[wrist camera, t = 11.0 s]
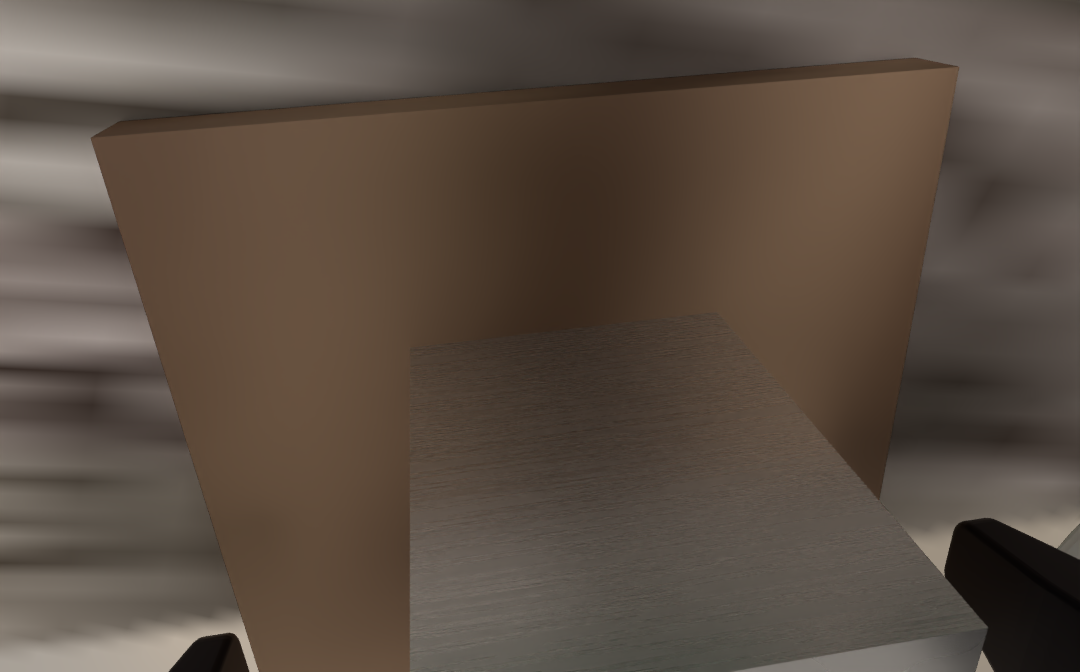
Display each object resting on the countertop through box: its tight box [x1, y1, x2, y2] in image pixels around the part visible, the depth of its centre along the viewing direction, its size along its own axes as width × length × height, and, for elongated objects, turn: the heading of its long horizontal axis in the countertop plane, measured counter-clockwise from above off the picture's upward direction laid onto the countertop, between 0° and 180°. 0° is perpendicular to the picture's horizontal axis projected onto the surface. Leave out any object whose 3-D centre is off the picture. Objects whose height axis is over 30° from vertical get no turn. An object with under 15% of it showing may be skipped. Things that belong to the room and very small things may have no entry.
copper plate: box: [91, 58, 959, 672], centre depth 13 cm, size 11×11×1 cm
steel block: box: [410, 312, 988, 672], centre depth 9 cm, size 4×4×6 cm
